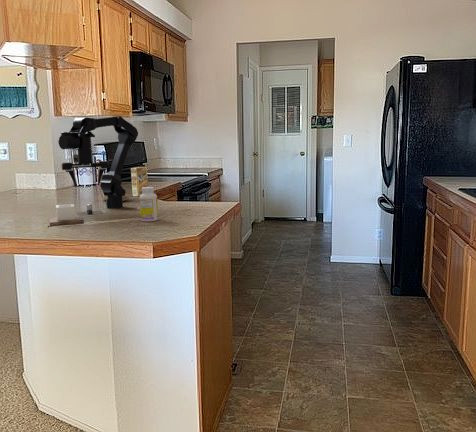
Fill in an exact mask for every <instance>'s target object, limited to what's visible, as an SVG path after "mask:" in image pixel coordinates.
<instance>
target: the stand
mask: <svg viewBox="0 0 476 432" xmlns="http://www.w3.org/2000/svg"><path fill="white" fill-rule="evenodd" d="M76 214H77V215H81V216H82V217H84V216H91V215H92V216H93V215H104V212H103V211H102V210H101V209H99V210H93V203H90V204H86V211H77V212H76Z"/></svg>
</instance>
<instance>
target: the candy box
mask: <svg viewBox="0 0 476 432" xmlns="http://www.w3.org/2000/svg"><path fill="white" fill-rule="evenodd" d="M130 176H131V188H132V189H131V191H132V196H133V197H140V195H141V194H142V188H143V187H149V183H148V182H149V181H148V179H149V177H148V167H147V166H141V167H140V166H139V167H138V166H137V167H131V168H130Z"/></svg>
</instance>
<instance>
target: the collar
mask: <svg viewBox="0 0 476 432" xmlns="http://www.w3.org/2000/svg"><path fill="white" fill-rule="evenodd" d="M75 209H76V208H75V205H74V203H71V204H56V205H55V212H56V217H57V221H60V220H72V219H75V216H76V212H75V211H76V210H75Z"/></svg>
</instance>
